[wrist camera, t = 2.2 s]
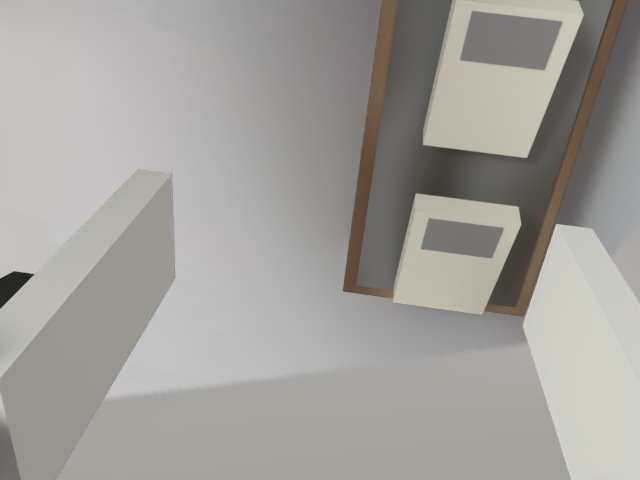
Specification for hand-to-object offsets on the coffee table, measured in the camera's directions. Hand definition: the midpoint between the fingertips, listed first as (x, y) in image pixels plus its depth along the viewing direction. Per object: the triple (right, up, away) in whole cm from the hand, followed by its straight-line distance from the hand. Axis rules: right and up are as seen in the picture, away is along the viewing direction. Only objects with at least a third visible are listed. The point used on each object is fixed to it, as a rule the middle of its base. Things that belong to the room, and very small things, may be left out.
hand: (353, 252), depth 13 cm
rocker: (+7, -1, +21) cm, 22 cm away
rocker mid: (+8, +8, +16) cm, 20 cm away
